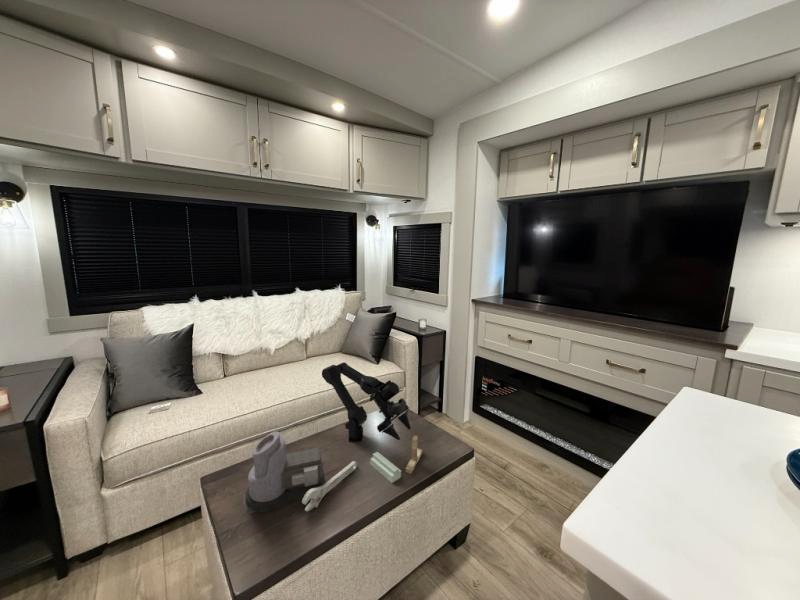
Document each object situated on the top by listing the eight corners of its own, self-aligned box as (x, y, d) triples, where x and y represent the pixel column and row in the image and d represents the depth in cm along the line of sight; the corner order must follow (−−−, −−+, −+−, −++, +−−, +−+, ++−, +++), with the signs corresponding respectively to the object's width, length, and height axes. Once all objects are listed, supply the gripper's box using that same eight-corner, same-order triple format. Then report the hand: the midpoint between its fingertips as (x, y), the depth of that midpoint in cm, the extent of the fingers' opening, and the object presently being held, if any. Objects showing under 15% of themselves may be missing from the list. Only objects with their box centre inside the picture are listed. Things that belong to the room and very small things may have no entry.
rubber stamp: (410, 474, 130) (411, 447, 128) (405, 472, 131) (406, 445, 129) (422, 453, 143) (423, 428, 140) (417, 452, 144) (418, 427, 141)
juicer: (239, 519, 107) (234, 455, 103) (244, 485, 122) (239, 428, 118) (328, 496, 118) (326, 437, 113) (322, 467, 133) (321, 414, 128)
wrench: (356, 473, 134) (304, 519, 107) (353, 472, 134) (300, 516, 108) (358, 455, 133) (305, 497, 107) (354, 454, 134) (301, 495, 107)
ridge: (370, 464, 135) (370, 455, 134) (379, 459, 138) (379, 450, 137) (391, 483, 125) (391, 473, 124) (400, 477, 128) (401, 467, 127)
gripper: (383, 404, 129) (405, 437, 125) (405, 387, 145) (426, 416, 141) (367, 416, 134) (388, 448, 131) (391, 398, 150) (410, 426, 146)
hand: (404, 434), depth 137 cm, fingers open, 9 cm apart
